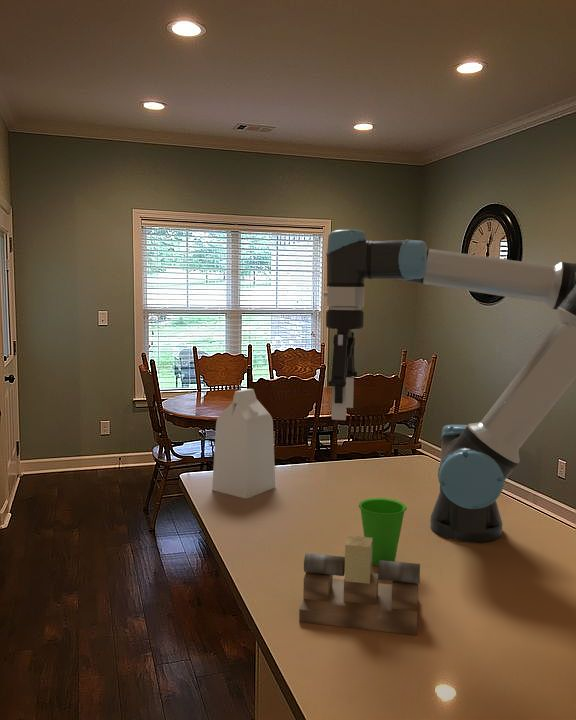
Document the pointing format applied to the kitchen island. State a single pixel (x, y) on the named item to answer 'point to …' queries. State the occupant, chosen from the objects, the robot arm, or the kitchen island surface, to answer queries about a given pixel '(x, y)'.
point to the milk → (244, 448)
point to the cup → (382, 526)
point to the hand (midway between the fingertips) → (342, 413)
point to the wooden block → (358, 559)
